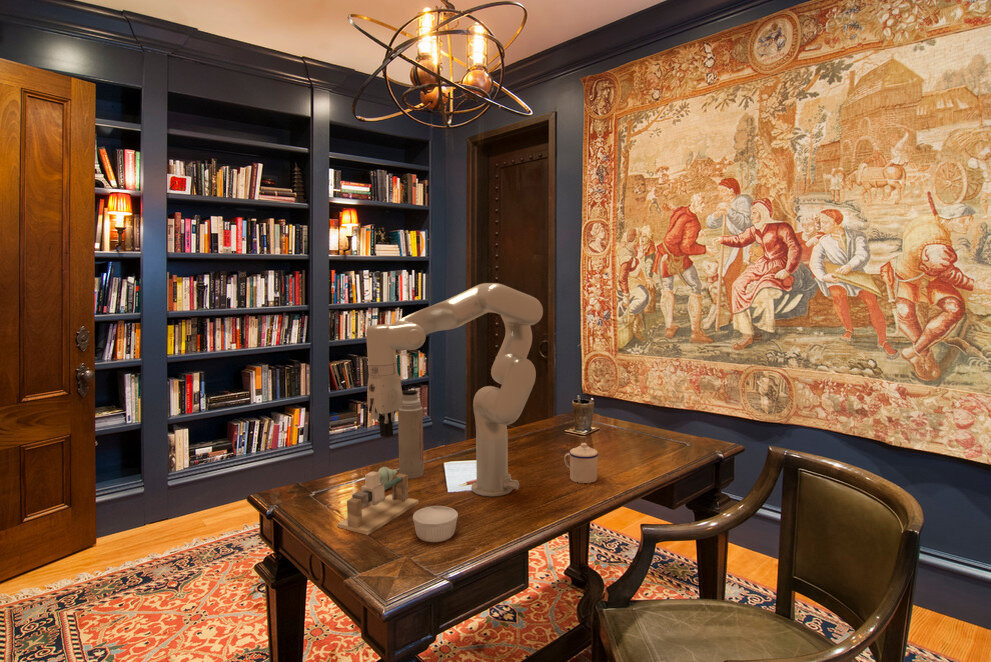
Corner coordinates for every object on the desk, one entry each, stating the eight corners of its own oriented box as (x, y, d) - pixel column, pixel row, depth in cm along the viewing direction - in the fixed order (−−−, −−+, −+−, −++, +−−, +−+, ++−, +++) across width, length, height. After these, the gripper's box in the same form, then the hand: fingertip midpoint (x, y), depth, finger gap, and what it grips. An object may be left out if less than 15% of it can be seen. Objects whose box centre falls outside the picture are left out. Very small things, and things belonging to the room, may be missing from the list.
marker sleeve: (371, 497, 149) (370, 470, 148) (384, 500, 147) (383, 472, 146) (361, 502, 145) (360, 474, 145) (375, 505, 143) (374, 477, 143)
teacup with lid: (603, 478, 175) (603, 443, 174) (587, 486, 169) (587, 449, 168) (572, 470, 184) (573, 436, 183) (556, 477, 177) (556, 442, 176)
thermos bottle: (426, 471, 184) (425, 388, 181) (418, 479, 176) (417, 393, 173) (404, 469, 185) (402, 388, 183) (395, 477, 177) (393, 392, 175)
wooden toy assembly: (390, 497, 161) (389, 469, 160) (418, 503, 156) (417, 474, 156) (337, 527, 141) (336, 495, 141) (367, 535, 137) (366, 501, 136)
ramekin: (462, 526, 142) (462, 506, 141) (452, 546, 131) (451, 525, 130) (420, 523, 144) (420, 504, 143) (407, 543, 133) (406, 522, 132)
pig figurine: (377, 494, 164) (377, 472, 163) (369, 490, 167) (369, 468, 166) (399, 486, 170) (398, 465, 169) (391, 483, 172) (391, 462, 172)
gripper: (375, 376, 140) (380, 445, 141) (410, 366, 153) (414, 430, 155) (353, 374, 143) (357, 442, 145) (388, 365, 156) (392, 427, 158)
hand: (386, 436), depth 150 cm, fingers closed
